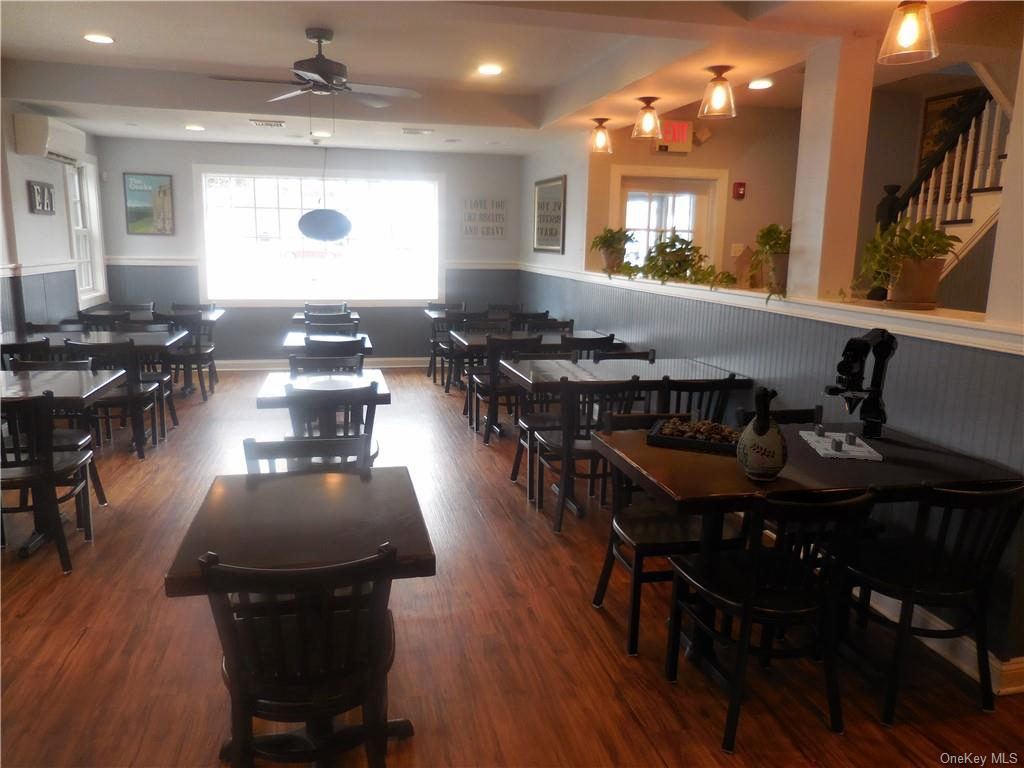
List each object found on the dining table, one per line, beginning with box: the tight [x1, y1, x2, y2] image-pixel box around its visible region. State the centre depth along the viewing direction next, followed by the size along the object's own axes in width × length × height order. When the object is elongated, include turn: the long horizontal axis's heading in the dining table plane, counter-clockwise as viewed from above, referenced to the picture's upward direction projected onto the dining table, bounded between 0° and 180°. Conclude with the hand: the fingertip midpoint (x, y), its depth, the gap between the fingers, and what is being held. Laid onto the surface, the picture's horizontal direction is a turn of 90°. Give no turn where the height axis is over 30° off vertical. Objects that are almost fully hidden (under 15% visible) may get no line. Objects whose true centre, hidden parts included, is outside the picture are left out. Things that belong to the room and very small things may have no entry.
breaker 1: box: [814, 424, 826, 436], centre depth 276 cm, size 2×4×4 cm, turn 173°
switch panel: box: [799, 430, 883, 462], centre depth 267 cm, size 20×30×2 cm, turn 173°
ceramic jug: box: [736, 385, 789, 482], centre depth 226 cm, size 17×15×30 cm
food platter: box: [645, 417, 746, 456], centre depth 265 cm, size 45×25×10 cm, turn 69°
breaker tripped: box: [845, 431, 858, 445], centre depth 266 cm, size 2×4×4 cm, turn 173°
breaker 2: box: [831, 438, 843, 451], centre depth 257 cm, size 2×4×4 cm, turn 173°
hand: (850, 414), depth 264 cm, fingers closed
